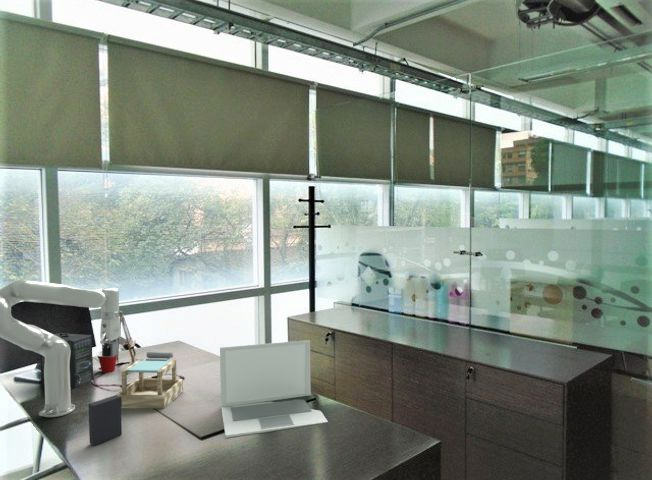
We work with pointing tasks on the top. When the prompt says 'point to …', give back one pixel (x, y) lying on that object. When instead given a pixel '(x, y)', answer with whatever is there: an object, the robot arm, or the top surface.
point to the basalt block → (112, 349)
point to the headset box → (77, 359)
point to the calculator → (105, 419)
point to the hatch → (152, 362)
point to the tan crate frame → (150, 388)
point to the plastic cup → (107, 363)
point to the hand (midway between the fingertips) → (110, 353)
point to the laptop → (266, 387)
